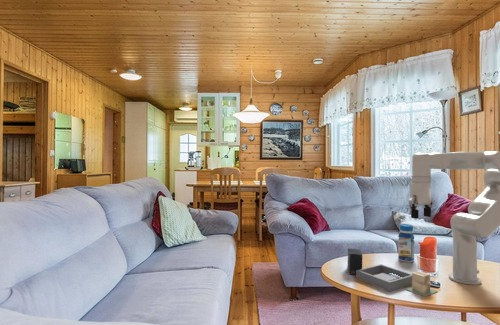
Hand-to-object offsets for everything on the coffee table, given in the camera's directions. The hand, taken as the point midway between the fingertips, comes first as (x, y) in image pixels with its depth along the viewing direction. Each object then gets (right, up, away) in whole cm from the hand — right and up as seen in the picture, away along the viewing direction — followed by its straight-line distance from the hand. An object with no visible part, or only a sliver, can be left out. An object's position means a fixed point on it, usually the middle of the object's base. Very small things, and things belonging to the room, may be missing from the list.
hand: (421, 217), depth 147 cm
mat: (-4, -30, -8) cm, 32 cm away
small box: (-25, -30, +15) cm, 43 cm away
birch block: (-4, -30, -8) cm, 31 cm away
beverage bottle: (+10, -31, +35) cm, 48 cm away
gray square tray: (-16, -30, +3) cm, 34 cm away
